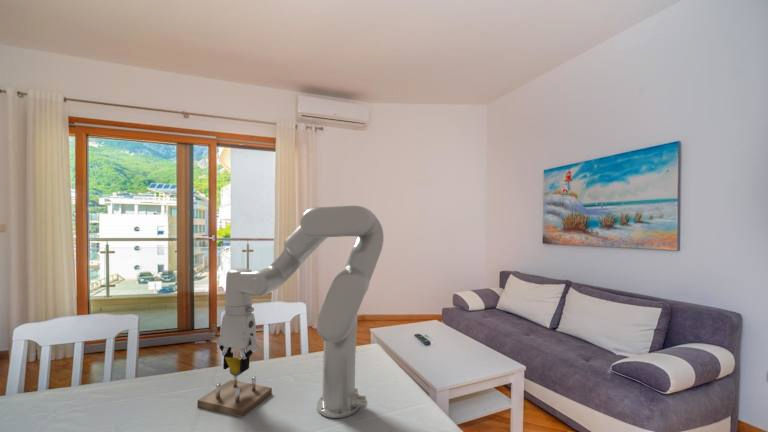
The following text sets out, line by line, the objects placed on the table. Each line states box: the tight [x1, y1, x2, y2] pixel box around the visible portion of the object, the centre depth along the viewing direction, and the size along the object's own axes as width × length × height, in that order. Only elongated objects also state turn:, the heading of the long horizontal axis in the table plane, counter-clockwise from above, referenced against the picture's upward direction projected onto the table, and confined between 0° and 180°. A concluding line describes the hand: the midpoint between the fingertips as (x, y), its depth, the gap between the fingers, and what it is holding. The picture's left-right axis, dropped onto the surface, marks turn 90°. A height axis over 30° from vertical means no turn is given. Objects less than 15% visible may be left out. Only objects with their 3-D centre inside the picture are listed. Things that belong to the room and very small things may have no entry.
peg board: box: [196, 375, 273, 418], centre depth 98 cm, size 16×13×6 cm
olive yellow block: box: [225, 356, 243, 376], centre depth 98 cm, size 5×5×10 cm
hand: (236, 368), depth 98 cm, fingers closed on olive yellow block, 5 cm apart
